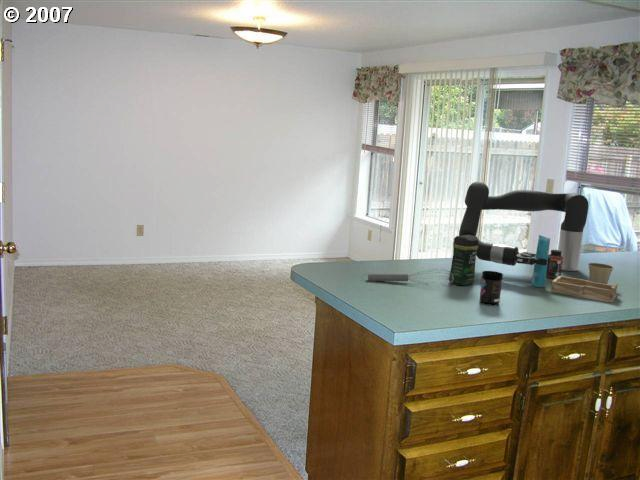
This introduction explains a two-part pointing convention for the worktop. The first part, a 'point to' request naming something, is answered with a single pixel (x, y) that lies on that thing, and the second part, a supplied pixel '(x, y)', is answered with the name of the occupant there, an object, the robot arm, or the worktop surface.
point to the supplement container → (491, 287)
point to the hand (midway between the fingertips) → (548, 261)
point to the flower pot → (599, 272)
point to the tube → (540, 270)
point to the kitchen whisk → (400, 277)
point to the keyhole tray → (584, 289)
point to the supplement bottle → (554, 264)
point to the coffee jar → (464, 259)
